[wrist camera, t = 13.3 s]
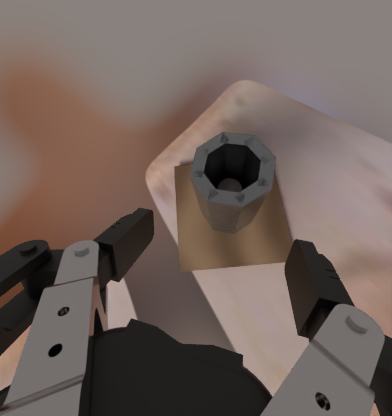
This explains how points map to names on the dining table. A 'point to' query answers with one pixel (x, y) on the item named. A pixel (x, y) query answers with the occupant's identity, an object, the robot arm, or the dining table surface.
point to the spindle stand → (225, 242)
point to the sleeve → (232, 169)
